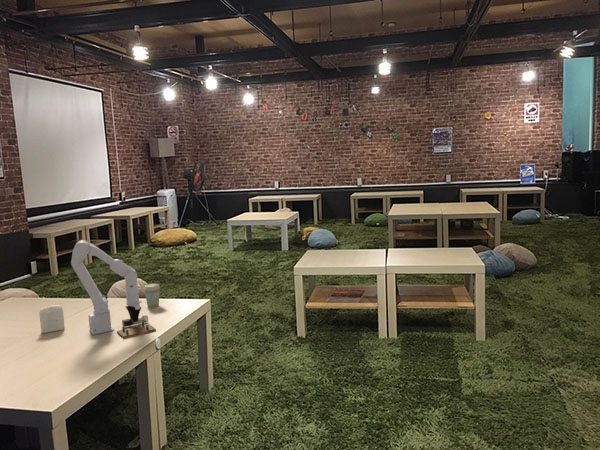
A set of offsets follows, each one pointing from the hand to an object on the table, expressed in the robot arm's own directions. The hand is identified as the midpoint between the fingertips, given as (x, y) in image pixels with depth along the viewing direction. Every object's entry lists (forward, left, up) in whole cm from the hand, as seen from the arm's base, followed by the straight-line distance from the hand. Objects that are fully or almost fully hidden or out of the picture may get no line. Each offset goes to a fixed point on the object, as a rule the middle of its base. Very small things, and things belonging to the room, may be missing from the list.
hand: (134, 320), depth 246 cm
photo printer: (-33, +20, -3) cm, 39 cm away
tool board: (-2, -10, -2) cm, 11 cm away
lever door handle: (+1, 0, -2) cm, 2 cm away
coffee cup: (+18, +25, -3) cm, 31 cm away
